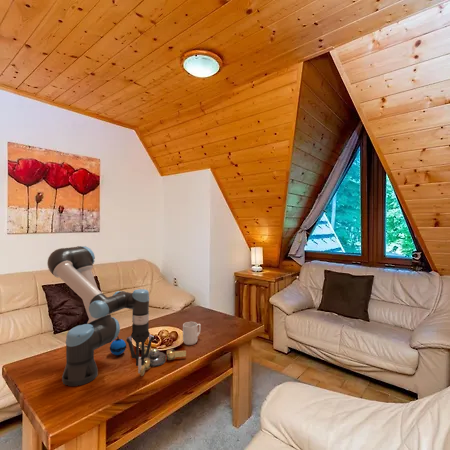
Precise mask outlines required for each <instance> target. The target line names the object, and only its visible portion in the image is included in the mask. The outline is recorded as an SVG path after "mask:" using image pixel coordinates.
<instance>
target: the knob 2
mask: <svg viewBox="0 0 450 450" xmlns="http://www.w3.org/2000/svg"><path fill="white" fill-rule="evenodd" d="M150 368H151V367H150V359H148V358H145V359H144V365H142V368H141V370H140V373H139V374H140V377H142V376H143V377H144V376H145V373H146V371H147V370H149V369H150Z"/></svg>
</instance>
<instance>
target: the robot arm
mask: <svg viewBox="0 0 450 450" xmlns="http://www.w3.org/2000/svg"><path fill="white" fill-rule="evenodd" d="M95 259H96V256H95V252H94V251H93V250H92V249H91V248H90V247H89V246H86V245H85V246H79V245H78V246H72V247H62V248H58V249H54V251H52V252H51V253H50V255H49V256H48V257H47V268H48V270H49V273H51V274H52V275H53V276H54V278H59V279H60V280H62V282H63V283H65V284H66V285H67V286H68V287H69V288H70V289H71V290H72V291H73V292H74V293H75V294H77V296H79V297H80V298H81V299H82V302H83V305H84V308H85V309H84V310H85V312H86V314H87V317H88V321H87V322H86V323H84V324H79V325H76V326H74V327H72V328H71V329H69V330H68V332H67V333H66V335H65V336H66V337H65V338H66V340H65V345H66V347H65V350H66V353H65V356H66V357H65V359H66V362H65V367H64V371H63V373H62V376H61V383H62V382H63V383H62V384H63V385H64V384H65V385H64V386H66V385H68V386H67V387H79V386H83V385H86V384H88V383H91V382H92V381H94V380H95V379H96V378H97V377H98V374H99V369H98V366H97V363H96V360H95V352H94V351H95V350H97V349H100V348H102V347H103V346H105V345H107V344H110V343H112V342H113V341H114V340H116V339H117V337H119V335H120V331H121V326H120V322H119V321H118V319H117V318H115V317H113V316H112V315H111V314H113V313H115V312H119V311H121V310H123V309H129V310H131V311H132V317H131V320H132V325H131V327H132V328H131V330H132V331H131V334H130V336H128V337H126V340H125V342H126V343H128V347H129V351H130V355H131V359H135V366H136V367H138V370H137V374H140V370H141V368H142V365H144V358H145V357H148V353H149V350H150V346H151V347H152V342H153V341H154V339H155V336H154V335H152V334H151V333H150V332H149V331H150V330H149V329H150V328H149V325H150V324H149V320H150V317H149V316H150V311H149V309H150V292H149V290H148V289H145V288H138V289H134V290H133V291H132V292H130V291H129V292H128V291H124V290H122V291H121V290H118V291H115V293H112V295H110V296H107V295H106V294H104V293H103V292H102V291H101V290H99V288H98V285H97V283H96V280H95V277H94V274H93V272H92V270H93V268H94V263H95ZM147 339H148V343H147V345H146V346H147V350H146V354H144V345H145V342H146V340H147ZM132 340H133V341H134V342H135V349H134V344H133V341H132ZM139 344H141V349H139ZM140 351H141V352H140ZM78 385H79V386H78Z"/></svg>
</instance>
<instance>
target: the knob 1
mask: <svg viewBox="0 0 450 450" xmlns="http://www.w3.org/2000/svg"><path fill="white" fill-rule="evenodd" d="M147 346H148V345H145V344H144V354H146V350H147ZM139 347H140V348H141V343H139ZM151 350H152V345H151V346H150V350H149V353H150V351H151Z"/></svg>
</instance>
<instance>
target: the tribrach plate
mask: <svg viewBox="0 0 450 450" xmlns="http://www.w3.org/2000/svg"><path fill="white" fill-rule="evenodd" d="M145 358H148V359H150V368H157V367H160V366H163V365H164V364H165V363H166V360H167V354H166V353H164V352H163V351H162V352H161V351H160V349H157V348H151V351H150V353H148V357H145ZM145 358H144V359H145Z"/></svg>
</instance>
